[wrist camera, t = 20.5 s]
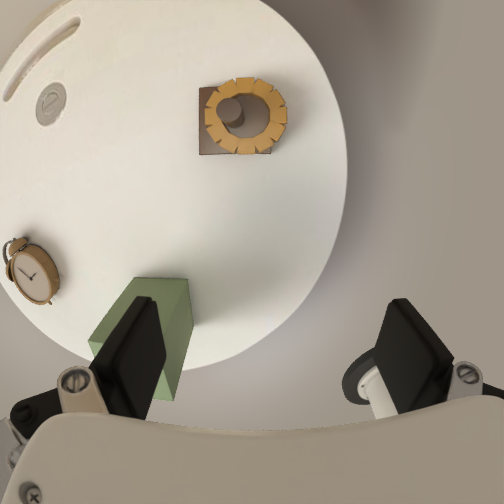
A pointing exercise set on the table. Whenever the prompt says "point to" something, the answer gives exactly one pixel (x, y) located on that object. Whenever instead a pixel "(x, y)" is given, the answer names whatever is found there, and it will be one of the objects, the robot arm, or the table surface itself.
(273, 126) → the brass ring
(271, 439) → the robot arm
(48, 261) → the alarm clock
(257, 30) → the table surface
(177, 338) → the sage green upright pillar
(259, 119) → the peg stand
